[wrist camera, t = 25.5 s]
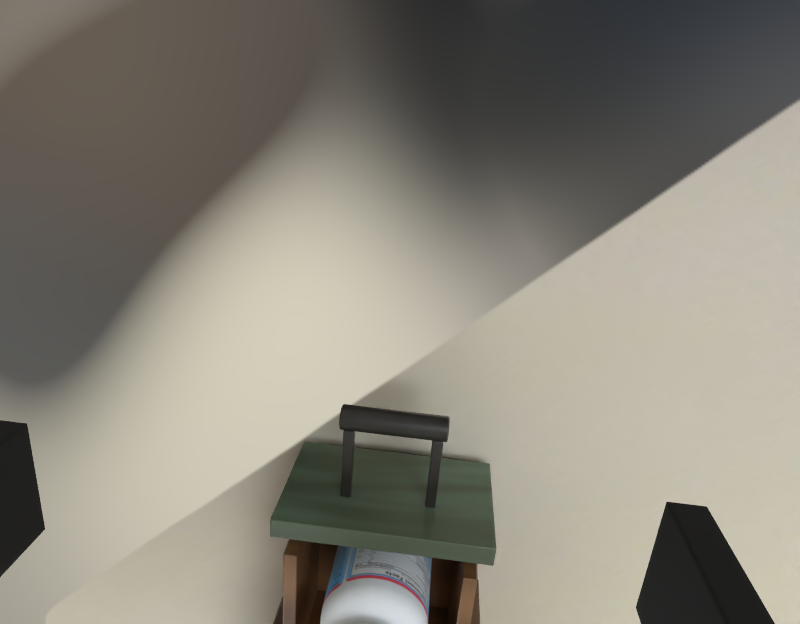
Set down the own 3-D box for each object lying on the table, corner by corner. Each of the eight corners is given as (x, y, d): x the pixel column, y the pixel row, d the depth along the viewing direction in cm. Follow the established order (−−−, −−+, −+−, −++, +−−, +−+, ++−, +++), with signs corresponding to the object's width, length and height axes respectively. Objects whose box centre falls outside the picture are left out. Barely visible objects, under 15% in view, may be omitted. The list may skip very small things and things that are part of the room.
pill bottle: (381, 577, 42) (356, 738, 32) (326, 517, 41) (280, 666, 30) (451, 539, 41) (448, 697, 30) (396, 476, 39) (373, 618, 29)
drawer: (306, 361, 38) (269, 427, 31) (502, 383, 37) (512, 456, 30) (301, 583, 45) (270, 680, 37) (467, 606, 44) (468, 709, 37)
